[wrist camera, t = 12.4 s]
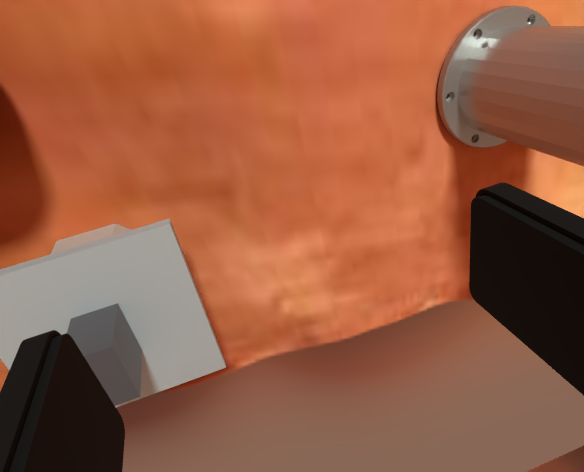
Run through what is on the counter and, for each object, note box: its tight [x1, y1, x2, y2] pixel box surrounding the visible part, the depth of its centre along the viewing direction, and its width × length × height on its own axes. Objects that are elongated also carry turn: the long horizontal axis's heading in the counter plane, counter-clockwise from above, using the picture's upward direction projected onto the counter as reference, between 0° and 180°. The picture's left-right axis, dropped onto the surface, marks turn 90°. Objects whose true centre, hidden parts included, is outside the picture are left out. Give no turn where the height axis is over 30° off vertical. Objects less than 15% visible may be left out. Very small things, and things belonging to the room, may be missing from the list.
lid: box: [0, 218, 226, 407], centre depth 31 cm, size 15×15×6 cm
